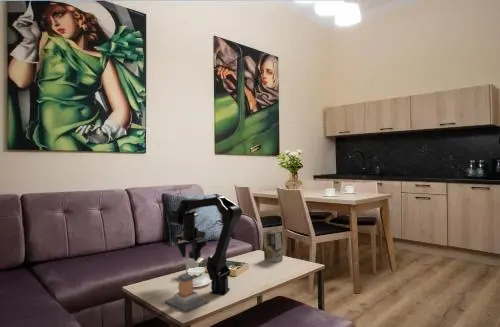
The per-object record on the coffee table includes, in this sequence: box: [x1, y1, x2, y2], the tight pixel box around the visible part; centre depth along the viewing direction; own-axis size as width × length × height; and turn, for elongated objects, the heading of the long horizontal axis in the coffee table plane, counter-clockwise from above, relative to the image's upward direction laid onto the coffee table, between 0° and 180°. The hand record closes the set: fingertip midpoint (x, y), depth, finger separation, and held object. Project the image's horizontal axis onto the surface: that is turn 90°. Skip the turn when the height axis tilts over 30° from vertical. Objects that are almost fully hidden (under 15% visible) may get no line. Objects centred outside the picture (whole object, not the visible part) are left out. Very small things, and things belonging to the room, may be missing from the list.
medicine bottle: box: [185, 249, 205, 274], centre depth 164 cm, size 7×7×12 cm
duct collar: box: [164, 290, 209, 314], centre depth 130 cm, size 14×11×4 cm
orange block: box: [178, 273, 194, 297], centre depth 130 cm, size 4×4×10 cm
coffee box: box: [262, 230, 284, 264], centre depth 183 cm, size 9×6×16 cm
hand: (189, 259), depth 149 cm, fingers open, 9 cm apart
